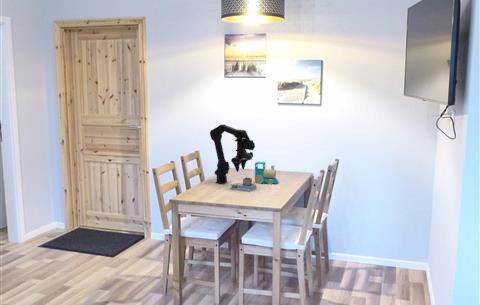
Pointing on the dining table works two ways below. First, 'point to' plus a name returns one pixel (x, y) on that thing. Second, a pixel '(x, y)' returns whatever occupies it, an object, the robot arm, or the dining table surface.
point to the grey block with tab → (247, 181)
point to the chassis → (243, 187)
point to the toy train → (265, 174)
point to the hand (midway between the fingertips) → (240, 170)
